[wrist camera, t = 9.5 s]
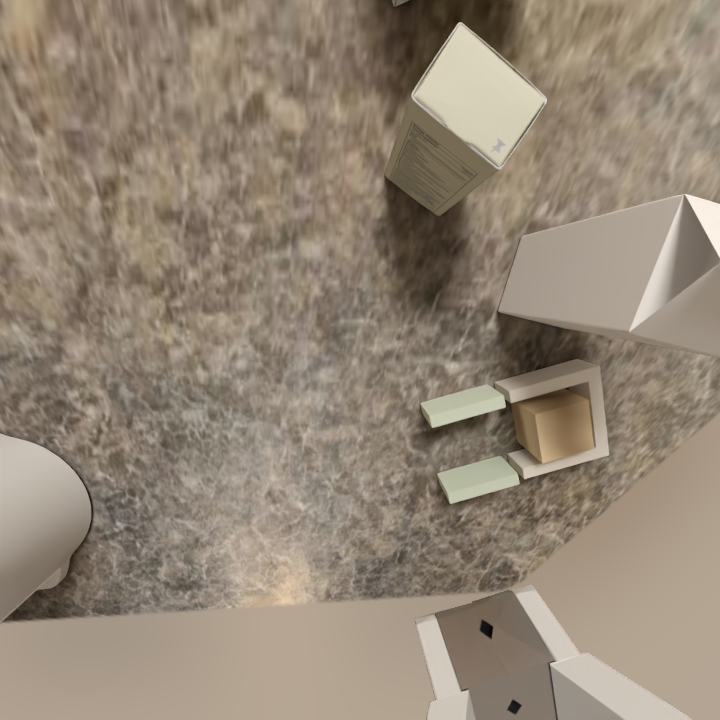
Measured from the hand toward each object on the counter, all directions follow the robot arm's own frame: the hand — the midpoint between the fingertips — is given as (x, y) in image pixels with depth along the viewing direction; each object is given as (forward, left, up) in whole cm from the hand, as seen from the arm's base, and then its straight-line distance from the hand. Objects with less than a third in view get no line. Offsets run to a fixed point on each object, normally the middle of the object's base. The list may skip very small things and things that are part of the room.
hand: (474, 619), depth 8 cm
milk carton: (+18, +4, -25) cm, 31 cm away
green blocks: (+7, -9, -25) cm, 28 cm away
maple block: (+15, -9, -25) cm, 31 cm away
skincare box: (+9, +16, -25) cm, 31 cm away
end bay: (+15, -9, -25) cm, 31 cm away
